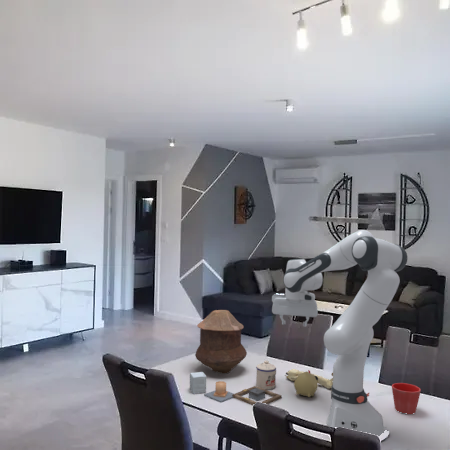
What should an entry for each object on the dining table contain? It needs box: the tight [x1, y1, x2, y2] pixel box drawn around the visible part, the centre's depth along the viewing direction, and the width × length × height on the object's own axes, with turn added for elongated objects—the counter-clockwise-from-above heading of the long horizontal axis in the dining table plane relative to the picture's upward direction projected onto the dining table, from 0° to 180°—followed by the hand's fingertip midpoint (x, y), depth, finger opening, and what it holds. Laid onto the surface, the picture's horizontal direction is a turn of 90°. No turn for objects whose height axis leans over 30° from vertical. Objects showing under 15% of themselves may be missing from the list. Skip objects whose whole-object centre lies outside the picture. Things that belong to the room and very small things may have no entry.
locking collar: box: [232, 385, 283, 406], centre depth 200 cm, size 15×15×2 cm
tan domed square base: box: [214, 380, 229, 397], centre depth 201 cm, size 6×5×5 cm
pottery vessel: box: [194, 309, 248, 374], centre depth 234 cm, size 26×26×30 cm
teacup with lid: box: [255, 360, 277, 390], centre depth 215 cm, size 12×9×12 cm
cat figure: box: [284, 368, 333, 389], centre depth 219 cm, size 10×9×25 cm
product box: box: [189, 371, 207, 395], centre depth 206 cm, size 6×6×7 cm
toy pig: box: [293, 371, 319, 398], centre depth 204 cm, size 10×12×11 cm
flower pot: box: [391, 382, 421, 415], centre depth 191 cm, size 11×11×10 cm
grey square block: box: [248, 388, 266, 402], centre depth 200 cm, size 5×5×3 cm
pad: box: [203, 390, 234, 403], centre depth 201 cm, size 10×10×1 cm
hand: (294, 325), depth 210 cm, fingers open, 8 cm apart
